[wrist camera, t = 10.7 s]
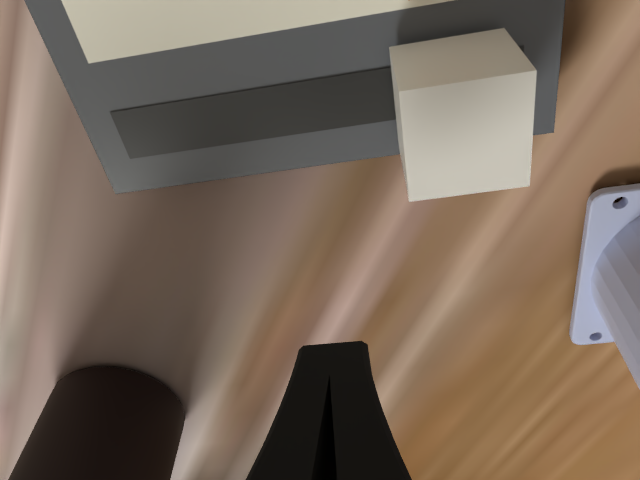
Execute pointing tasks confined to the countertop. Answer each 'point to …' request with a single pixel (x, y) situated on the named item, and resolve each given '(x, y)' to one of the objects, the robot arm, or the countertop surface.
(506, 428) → the countertop surface
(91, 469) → the bottle
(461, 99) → the tab
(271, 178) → the countertop surface
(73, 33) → the switch panel
